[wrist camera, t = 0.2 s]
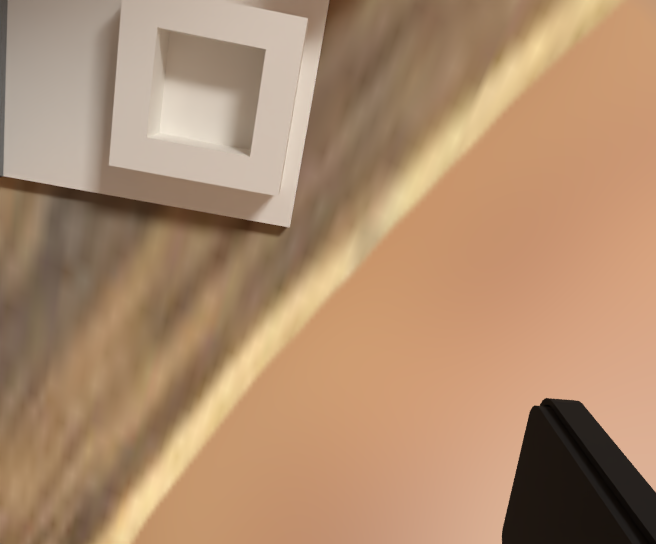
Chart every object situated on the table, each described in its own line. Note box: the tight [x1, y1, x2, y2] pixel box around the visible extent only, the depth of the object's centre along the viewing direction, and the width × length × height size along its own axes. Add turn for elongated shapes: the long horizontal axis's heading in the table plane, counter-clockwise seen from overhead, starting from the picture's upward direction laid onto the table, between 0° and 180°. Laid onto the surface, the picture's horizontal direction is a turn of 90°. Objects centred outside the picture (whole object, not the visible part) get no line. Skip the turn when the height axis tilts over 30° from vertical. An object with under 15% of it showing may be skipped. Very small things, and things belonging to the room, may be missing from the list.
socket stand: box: [3, 0, 329, 227], centre depth 35 cm, size 15×20×4 cm
